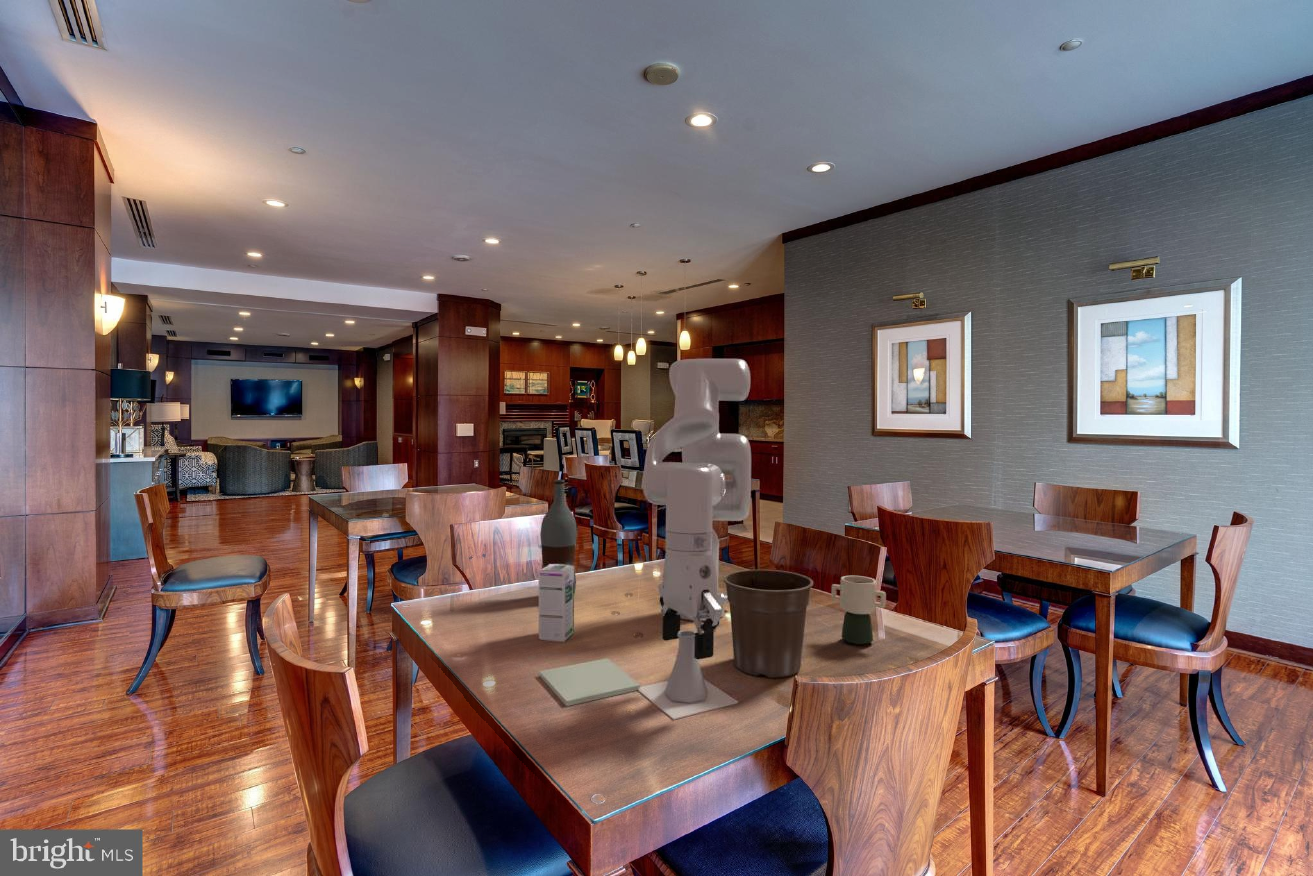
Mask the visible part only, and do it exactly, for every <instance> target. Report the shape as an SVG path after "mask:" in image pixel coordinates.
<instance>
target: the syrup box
mask: <svg viewBox="0 0 1313 876" xmlns="http://www.w3.org/2000/svg"><path fill="white" fill-rule="evenodd" d="M574 567H575V565H574V566H573V565H566V564H549V565H548V566H547V567H545V568H543V569H542V568H541V569H539V570H538V639H539V640H542V641H549V642H557V643H559V642H561V643H565V642H566V640H567V639H569V638H570V637H571V636H572V635H573V634H574V633H575V594H574Z"/></svg>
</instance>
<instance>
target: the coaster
mask: <svg viewBox="0 0 1313 876" xmlns="http://www.w3.org/2000/svg"><path fill="white" fill-rule="evenodd" d="M538 673H539V677H540V678H541V679H542V680H543V682H544V683H545V684H546V685H547V686H548V687H549V689H550V690H551V692H553V693H554V694H555V695H556V696H557V698H558V699H559V700H560V701H561V702H562V703H563V704H564V705H565V707H570V706H574V705H579V704H582V703H587V702H591V701H592V702H593V701H595V700H601V699H605V698H610V697H614V696H618V695H623V694H627V693H631V692H637V691H638V689H640V687H641V684H640V683H639V682H638V681H637V680H635V679H634V678H633V677H631V676H630V675H629V674H627V673H626V672H625V671H624V670H623V669H621V668H620V667H619V666H618V665H616V664H615V663H614V662H612V661H611V660H610V659H609V658H601V659H596V660H592V661H586V662H582V663H581V662H580V663H576V664H570V665H565V666H560V667H555V668H550V669H545V670H540V671H538Z"/></svg>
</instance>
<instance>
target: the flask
mask: <svg viewBox="0 0 1313 876" xmlns="http://www.w3.org/2000/svg"><path fill="white" fill-rule="evenodd" d="M695 633H697V632H696V631H694V630H688V629H685V630H680V631H679V632H678V633H677V636H678V637H679V638H678V649H677V654H676V659H675V662H674V665H673V667H672V670H671V673H670V676H669V678H668V680H667V681H668V683H667V686H666V689H665V692H664V694H665V695H666V696H667V697H668V698H669V699H670V700H671V701H679V702H687V703H691V702H696V701H701V700H706V697H707V694H708V690H707V687H706V684H705V681H704V680H705V678H704V676H703V673H702V669H701V666H700V663H699V660H697V659H696V658H695V657H694V645H695Z"/></svg>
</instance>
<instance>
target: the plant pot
mask: <svg viewBox="0 0 1313 876" xmlns="http://www.w3.org/2000/svg"><path fill="white" fill-rule="evenodd" d="M723 582H724V584H725V587H726V594H727V599H728V601H729V602H728V603H729V614H730V625H731V626H730V627H731V638H732V651H733V664H734V666H735V667H736V668H737V669H738V670H740V671H741V672H743V673H745V674H748V675H752V676H754V677H757V676H760V675H763V676H765V677H767V678H773V679H775V678H786V677H790V676H793V675H795V674H797V673H798V672H799V671H800V669H801V667H802V658H803V657H802V656H803V648H804V647H803V645H804V637H805V629H806V628H805V625H806V617H807V607H808V606H809V604H810V594H811V589H812V587H813V586H814V581H813V580H812V578H811V577H808V576H806V575H803V574H800V573H796V572H792V571H785V570H777V569H775V570H774V569H744V570H743V569H742V570H737V571H732V572H729V573H727V574H725V575H724V576H723Z"/></svg>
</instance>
